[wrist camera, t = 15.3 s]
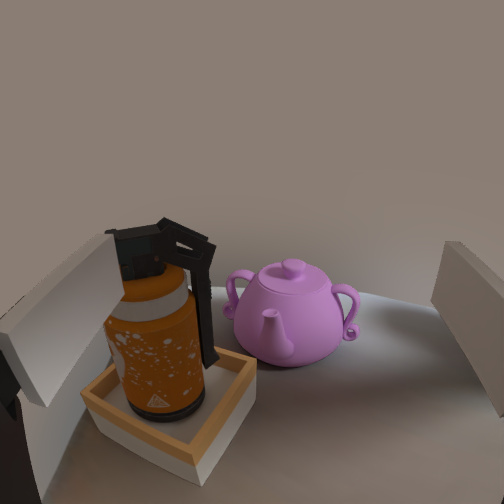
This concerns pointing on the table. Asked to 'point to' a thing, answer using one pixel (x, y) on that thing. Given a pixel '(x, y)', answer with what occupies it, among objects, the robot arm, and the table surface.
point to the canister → (162, 320)
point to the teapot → (290, 313)
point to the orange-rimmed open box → (183, 431)
